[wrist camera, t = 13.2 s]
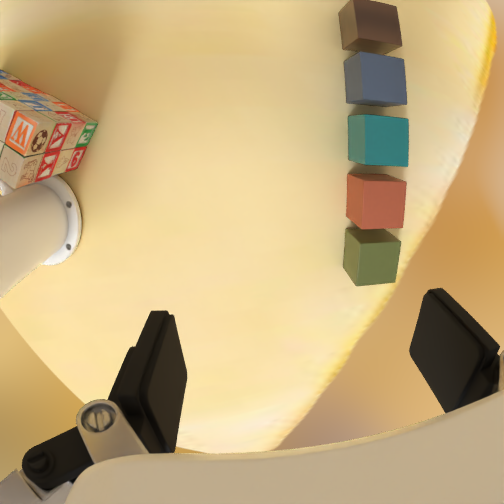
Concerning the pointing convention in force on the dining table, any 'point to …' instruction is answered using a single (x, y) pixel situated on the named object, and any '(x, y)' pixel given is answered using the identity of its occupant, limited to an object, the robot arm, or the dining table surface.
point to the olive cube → (371, 256)
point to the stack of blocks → (38, 133)
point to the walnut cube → (370, 27)
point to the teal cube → (378, 140)
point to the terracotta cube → (375, 201)
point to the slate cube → (375, 80)
